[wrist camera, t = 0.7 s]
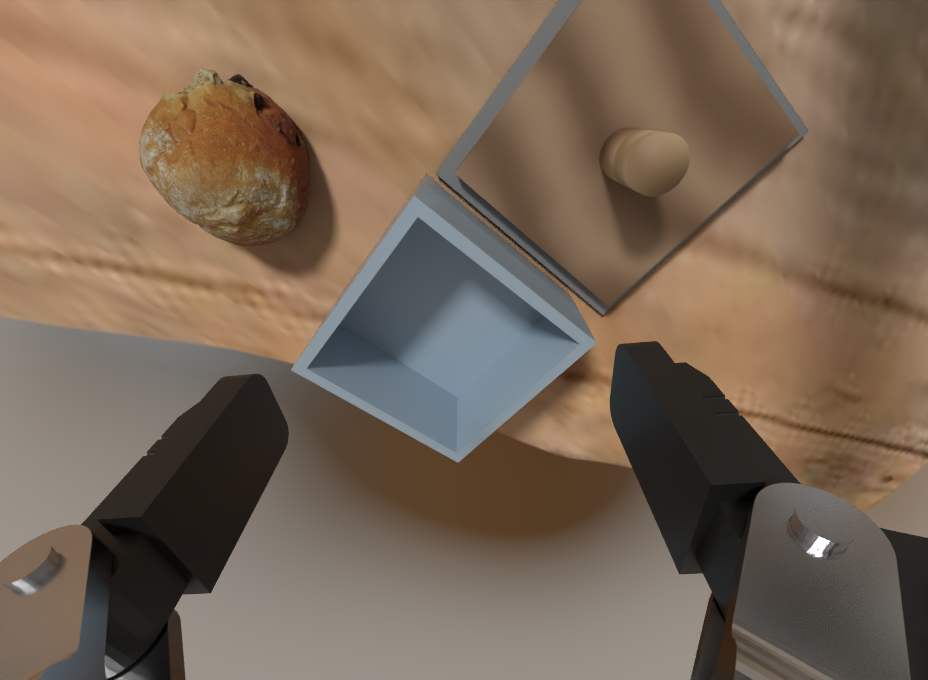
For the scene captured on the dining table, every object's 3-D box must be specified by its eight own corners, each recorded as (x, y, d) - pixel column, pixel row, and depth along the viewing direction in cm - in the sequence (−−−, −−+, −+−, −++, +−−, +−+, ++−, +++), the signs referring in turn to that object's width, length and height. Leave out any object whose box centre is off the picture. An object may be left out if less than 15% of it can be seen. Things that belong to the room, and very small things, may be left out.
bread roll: (194, 160, 31) (121, 221, 26) (178, 21, 23) (71, 73, 18) (314, 223, 33) (267, 288, 29) (338, 117, 26) (278, 184, 21)
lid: (638, -77, 21) (704, -145, 15) (786, 133, 26) (877, 141, 21) (455, 171, 27) (453, 188, 22) (604, 300, 33) (633, 341, 27)
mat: (638, -111, 21) (642, -115, 20) (803, 130, 27) (808, 131, 26) (436, 172, 28) (435, 173, 27) (600, 312, 34) (602, 315, 33)
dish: (426, 173, 28) (414, 195, 21) (569, 293, 33) (597, 342, 26) (325, 316, 34) (291, 369, 27) (458, 399, 39) (458, 462, 32)
